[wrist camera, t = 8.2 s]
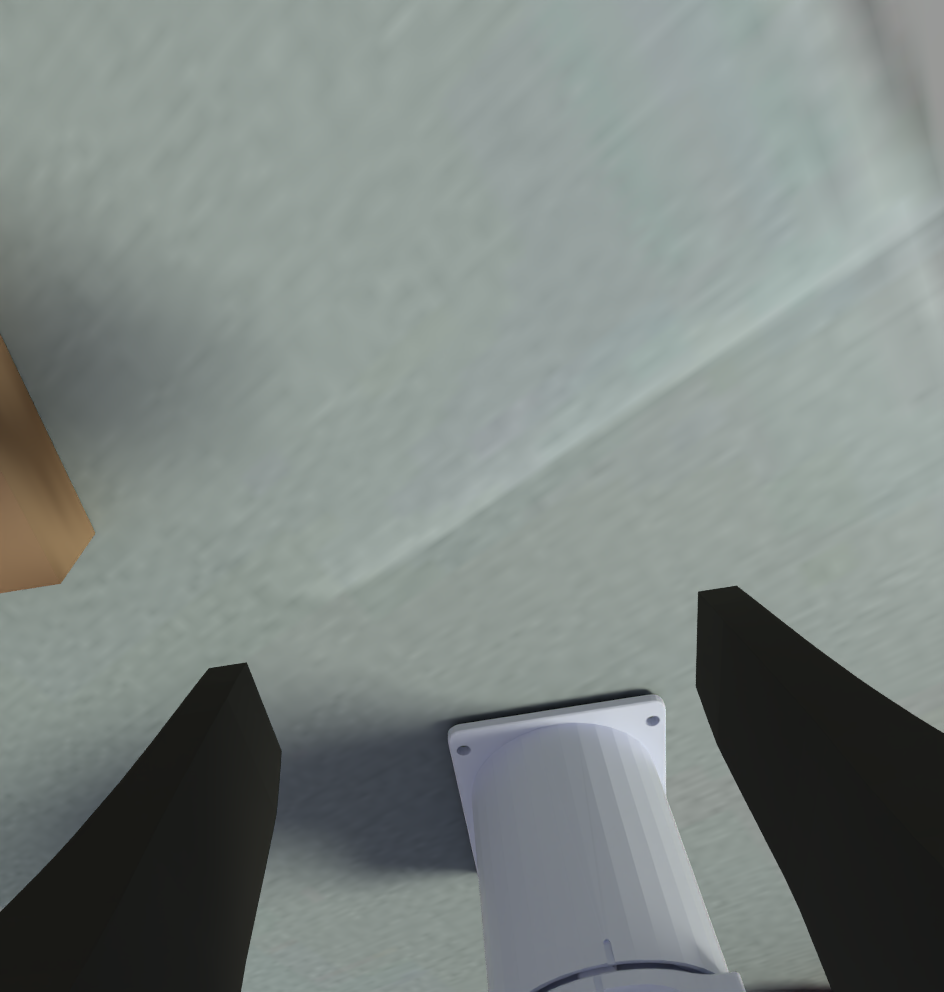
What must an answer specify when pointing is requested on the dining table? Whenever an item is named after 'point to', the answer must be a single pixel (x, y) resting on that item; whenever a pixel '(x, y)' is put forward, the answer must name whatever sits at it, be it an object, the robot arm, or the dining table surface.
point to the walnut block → (33, 494)
